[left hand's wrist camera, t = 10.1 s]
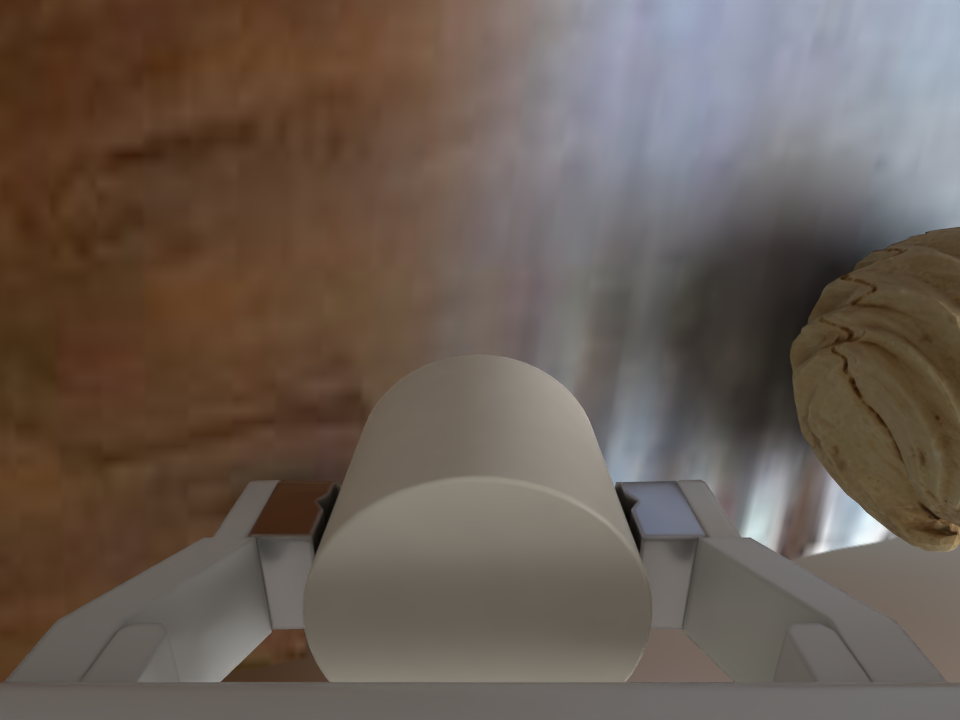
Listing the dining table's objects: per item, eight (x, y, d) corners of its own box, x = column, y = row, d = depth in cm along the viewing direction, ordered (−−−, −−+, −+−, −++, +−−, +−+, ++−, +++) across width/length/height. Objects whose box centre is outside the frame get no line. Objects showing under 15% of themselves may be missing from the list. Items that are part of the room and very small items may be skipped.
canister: (566, 323, 11) (615, 436, 7) (617, 528, 13) (679, 711, 9) (324, 390, 11) (241, 529, 7) (405, 578, 13) (373, 771, 9)
